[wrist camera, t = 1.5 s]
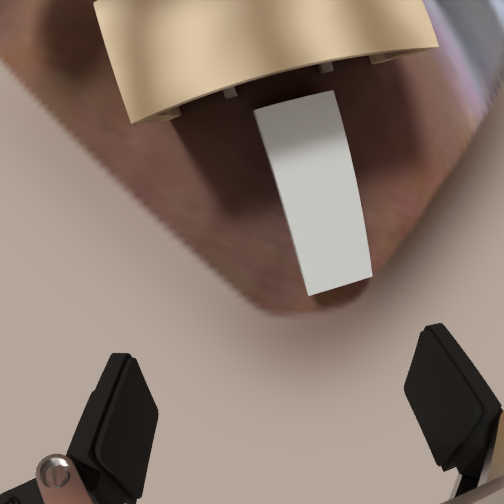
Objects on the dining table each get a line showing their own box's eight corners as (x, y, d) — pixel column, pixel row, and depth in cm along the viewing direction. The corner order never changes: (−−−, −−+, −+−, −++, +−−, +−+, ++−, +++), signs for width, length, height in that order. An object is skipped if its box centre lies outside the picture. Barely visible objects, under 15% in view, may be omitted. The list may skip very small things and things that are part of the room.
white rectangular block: (318, 94, 25) (333, 90, 20) (355, 252, 31) (372, 276, 27) (252, 111, 25) (254, 109, 21) (299, 269, 32) (308, 295, 27)
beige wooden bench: (350, -22, 19) (389, -65, 10) (382, 62, 23) (439, 47, 14) (139, 33, 22) (93, 2, 13) (169, 120, 25) (131, 123, 16)
